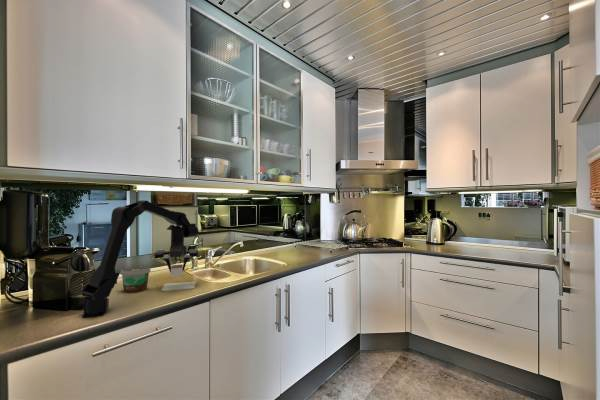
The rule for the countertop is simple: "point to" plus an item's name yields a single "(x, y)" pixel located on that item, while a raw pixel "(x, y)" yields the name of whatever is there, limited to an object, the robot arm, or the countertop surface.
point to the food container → (135, 280)
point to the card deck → (176, 270)
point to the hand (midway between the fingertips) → (176, 271)
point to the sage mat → (178, 286)
